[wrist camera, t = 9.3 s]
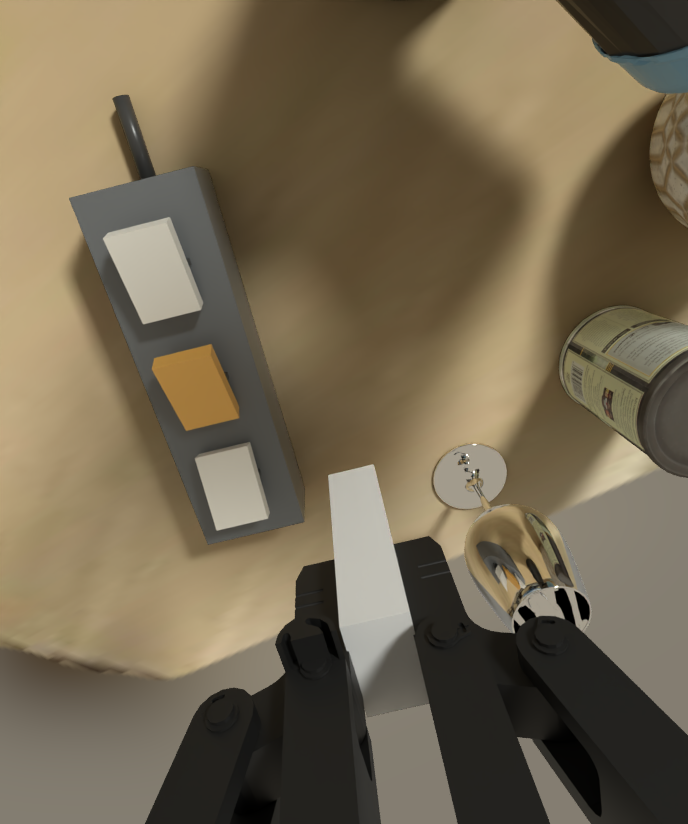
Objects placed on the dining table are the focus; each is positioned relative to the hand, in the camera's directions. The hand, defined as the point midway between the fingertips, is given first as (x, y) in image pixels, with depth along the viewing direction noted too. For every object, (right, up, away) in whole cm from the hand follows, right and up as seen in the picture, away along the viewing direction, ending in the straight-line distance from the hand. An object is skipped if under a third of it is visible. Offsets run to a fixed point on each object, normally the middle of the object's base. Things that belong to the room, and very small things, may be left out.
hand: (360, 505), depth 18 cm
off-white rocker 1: (-14, +13, +21) cm, 28 cm away
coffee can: (+25, +8, +34) cm, 43 cm away
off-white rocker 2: (-10, -3, +28) cm, 29 cm away
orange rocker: (-12, +5, +24) cm, 27 cm away
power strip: (-13, +10, +30) cm, 34 cm away
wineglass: (+12, -3, +37) cm, 40 cm away
